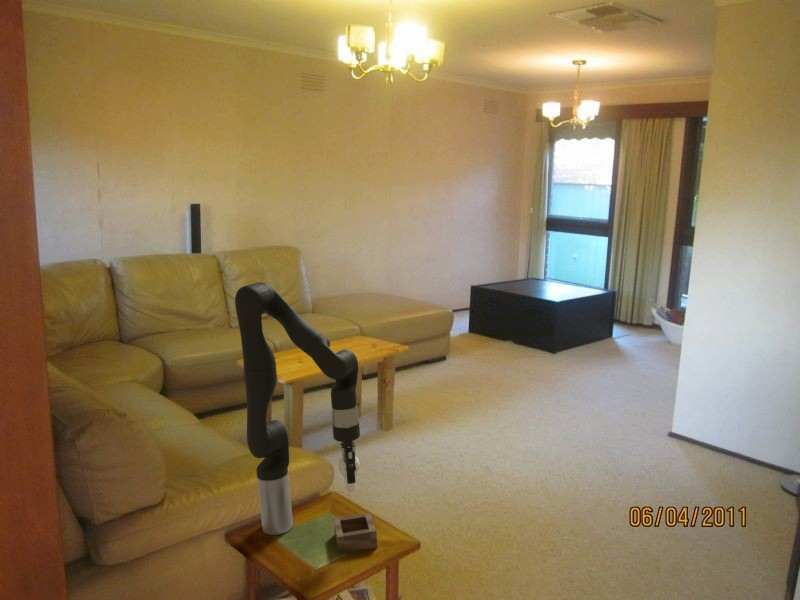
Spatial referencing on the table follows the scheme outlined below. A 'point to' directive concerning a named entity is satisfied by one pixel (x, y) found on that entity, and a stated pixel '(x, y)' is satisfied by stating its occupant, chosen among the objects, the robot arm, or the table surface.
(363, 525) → the socket block
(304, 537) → the table surface
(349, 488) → the lightbulb
